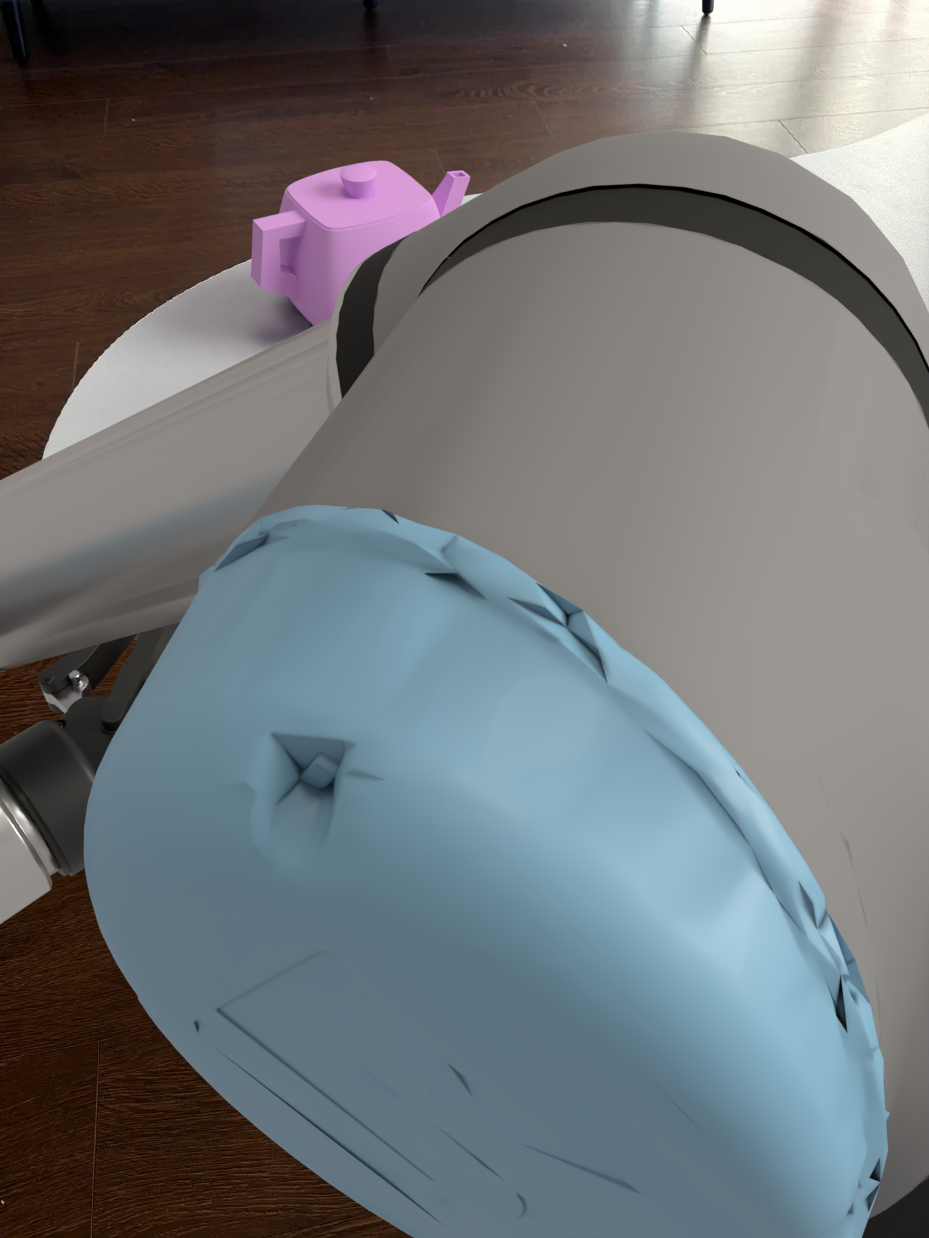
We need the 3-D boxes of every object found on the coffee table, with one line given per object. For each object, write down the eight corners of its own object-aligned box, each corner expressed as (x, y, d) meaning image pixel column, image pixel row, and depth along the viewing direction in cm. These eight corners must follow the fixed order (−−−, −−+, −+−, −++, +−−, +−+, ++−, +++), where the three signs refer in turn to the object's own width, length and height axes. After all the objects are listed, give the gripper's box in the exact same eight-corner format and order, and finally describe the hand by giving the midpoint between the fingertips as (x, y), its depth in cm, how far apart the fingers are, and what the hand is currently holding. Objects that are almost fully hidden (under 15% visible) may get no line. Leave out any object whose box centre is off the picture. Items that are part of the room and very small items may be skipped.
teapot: (297, 382, 89) (282, 238, 79) (232, 308, 96) (211, 166, 86) (502, 312, 96) (510, 172, 87) (428, 248, 103) (429, 112, 94)
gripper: (-69, 715, 63) (235, 544, 73) (171, 1034, 52) (495, 779, 61) (-117, 630, 58) (220, 457, 68) (141, 966, 46) (502, 697, 56)
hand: (352, 610), depth 65 cm, fingers open, 13 cm apart
